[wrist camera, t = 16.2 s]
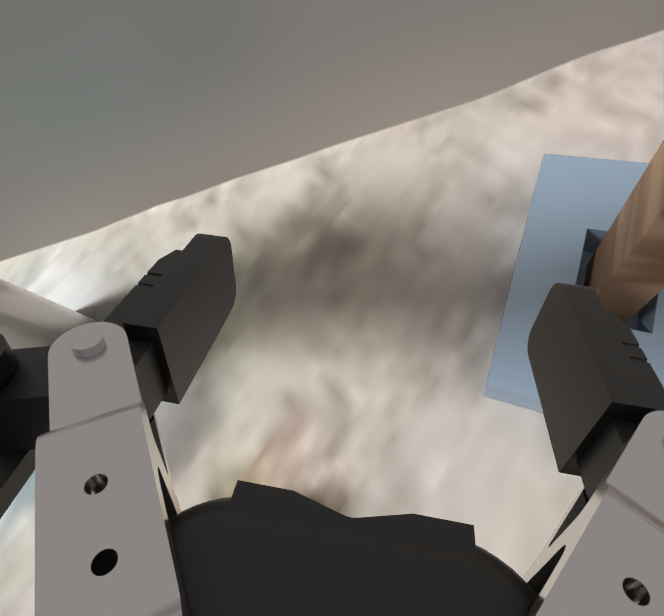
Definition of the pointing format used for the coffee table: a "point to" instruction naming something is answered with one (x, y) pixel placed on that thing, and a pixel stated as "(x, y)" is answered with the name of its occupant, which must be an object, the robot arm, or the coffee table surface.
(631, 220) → the slat
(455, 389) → the coffee table surface
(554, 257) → the end cap
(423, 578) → the robot arm
